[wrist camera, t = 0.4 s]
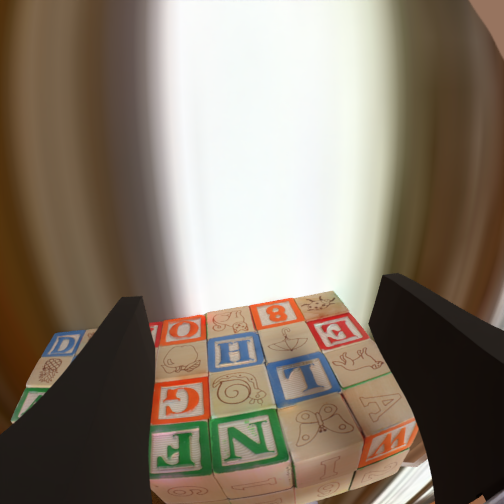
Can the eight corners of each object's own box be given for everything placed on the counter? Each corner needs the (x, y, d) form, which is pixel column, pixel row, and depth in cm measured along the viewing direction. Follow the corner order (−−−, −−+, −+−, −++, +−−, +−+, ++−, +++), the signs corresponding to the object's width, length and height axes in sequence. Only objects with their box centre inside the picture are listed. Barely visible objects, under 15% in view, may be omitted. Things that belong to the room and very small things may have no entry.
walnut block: (425, 415, 30) (441, 439, 26) (399, 438, 31) (413, 462, 27) (410, 409, 29) (427, 436, 24) (381, 434, 29) (396, 461, 25)
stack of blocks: (85, 388, 22) (51, 508, 11) (54, 330, 20) (-10, 456, 8) (333, 353, 24) (399, 475, 13) (335, 287, 22) (431, 414, 10)
